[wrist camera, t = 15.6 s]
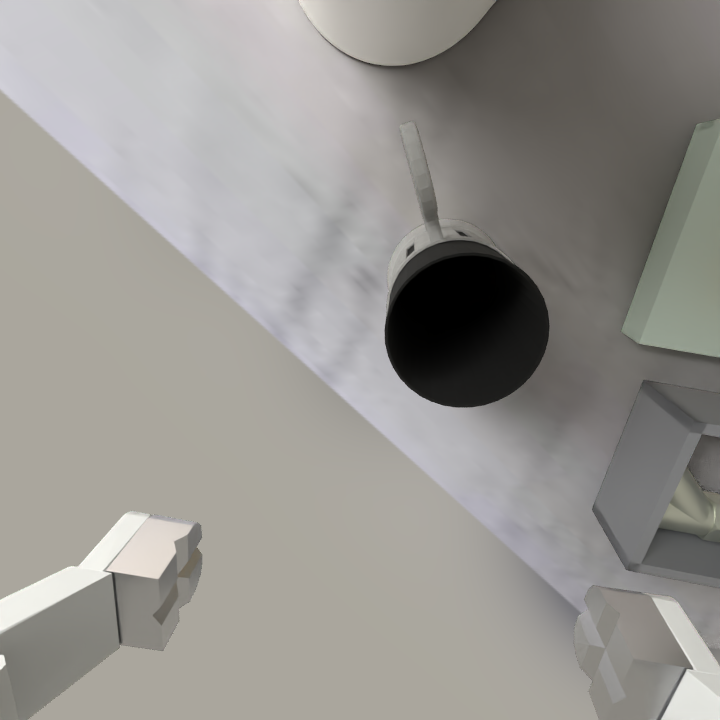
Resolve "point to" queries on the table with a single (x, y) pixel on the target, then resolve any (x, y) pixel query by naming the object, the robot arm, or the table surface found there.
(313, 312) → the table surface
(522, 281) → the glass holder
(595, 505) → the parts tub
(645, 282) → the lid
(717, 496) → the pipe fitting
